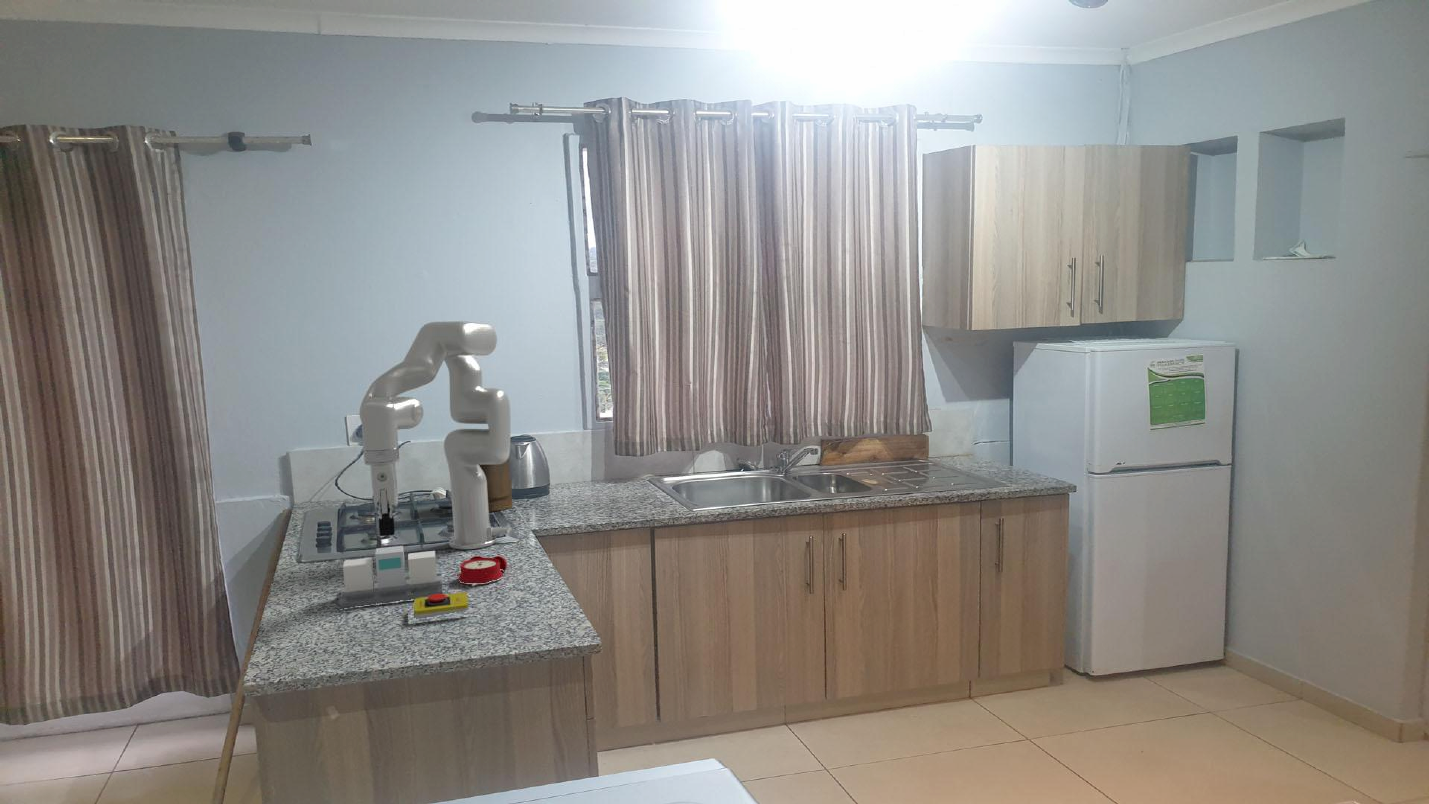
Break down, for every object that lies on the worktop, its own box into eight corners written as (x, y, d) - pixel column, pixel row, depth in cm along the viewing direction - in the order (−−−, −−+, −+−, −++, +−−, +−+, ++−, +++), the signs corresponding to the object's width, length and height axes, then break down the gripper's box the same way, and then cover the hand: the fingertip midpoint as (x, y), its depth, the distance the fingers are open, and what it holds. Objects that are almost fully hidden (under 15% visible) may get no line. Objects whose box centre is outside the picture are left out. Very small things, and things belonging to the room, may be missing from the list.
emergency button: (406, 593, 212) (476, 585, 216) (407, 612, 213) (477, 604, 217) (405, 607, 203) (478, 598, 208) (407, 627, 204) (480, 617, 208)
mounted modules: (436, 575, 229) (434, 550, 228) (437, 581, 224) (435, 556, 223) (346, 585, 223) (344, 560, 222) (345, 592, 218) (343, 566, 217)
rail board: (441, 579, 234) (440, 569, 233) (442, 597, 220) (442, 586, 220) (344, 590, 227) (343, 580, 227) (340, 610, 214) (339, 599, 214)
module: (405, 578, 227) (403, 545, 226) (405, 585, 222) (402, 551, 221) (378, 581, 225) (376, 548, 224) (377, 588, 220) (375, 554, 219)
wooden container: (497, 499, 315) (492, 432, 312) (521, 506, 304) (517, 437, 301) (455, 507, 305) (450, 439, 302) (479, 515, 294) (474, 444, 291)
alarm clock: (449, 573, 227) (470, 541, 241) (453, 596, 229) (473, 563, 243) (492, 573, 226) (510, 541, 240) (496, 596, 228) (513, 563, 242)
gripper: (398, 460, 213) (404, 541, 216) (399, 449, 227) (404, 525, 230) (362, 463, 211) (368, 544, 213) (365, 452, 225) (371, 528, 228)
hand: (387, 534), depth 222 cm, fingers closed
